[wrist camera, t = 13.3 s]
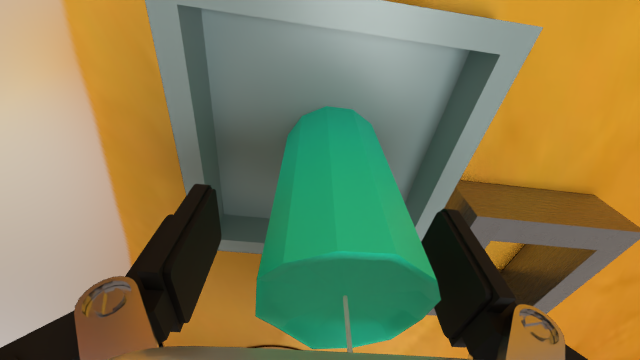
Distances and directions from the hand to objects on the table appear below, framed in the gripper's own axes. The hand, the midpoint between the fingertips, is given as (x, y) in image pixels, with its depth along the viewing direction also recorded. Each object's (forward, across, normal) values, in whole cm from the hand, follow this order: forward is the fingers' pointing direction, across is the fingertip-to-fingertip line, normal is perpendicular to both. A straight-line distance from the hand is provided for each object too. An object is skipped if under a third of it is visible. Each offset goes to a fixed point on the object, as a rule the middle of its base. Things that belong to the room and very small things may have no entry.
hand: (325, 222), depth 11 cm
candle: (+7, -1, 0) cm, 7 cm away
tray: (+8, 0, 0) cm, 8 cm away
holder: (+8, -16, +8) cm, 20 cm away
